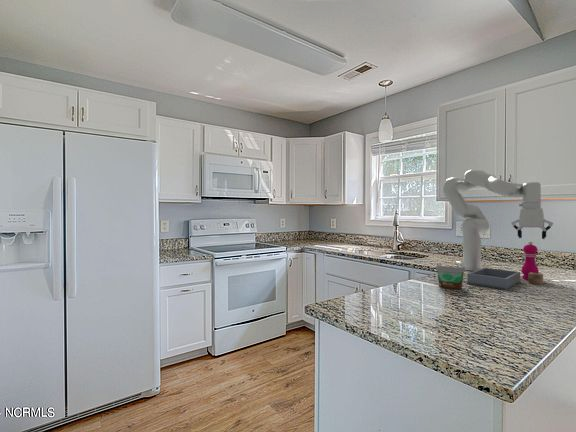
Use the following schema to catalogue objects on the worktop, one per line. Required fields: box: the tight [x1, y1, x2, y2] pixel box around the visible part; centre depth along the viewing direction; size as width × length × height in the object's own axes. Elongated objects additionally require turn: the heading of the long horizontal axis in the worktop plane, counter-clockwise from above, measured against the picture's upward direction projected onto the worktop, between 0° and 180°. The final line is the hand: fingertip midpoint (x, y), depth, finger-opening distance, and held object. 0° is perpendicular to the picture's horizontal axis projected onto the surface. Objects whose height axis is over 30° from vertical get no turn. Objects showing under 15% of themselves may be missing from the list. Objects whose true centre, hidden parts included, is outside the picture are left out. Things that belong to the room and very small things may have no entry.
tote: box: [466, 267, 521, 291], centre depth 152 cm, size 16×26×5 cm, turn 132°
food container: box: [435, 264, 467, 291], centre depth 140 cm, size 12×6×10 cm, turn 62°
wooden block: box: [527, 272, 544, 286], centre depth 152 cm, size 5×5×5 cm
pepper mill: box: [520, 241, 540, 281], centre depth 161 cm, size 7×7×20 cm
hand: (531, 238), depth 161 cm, fingers open, 9 cm apart
